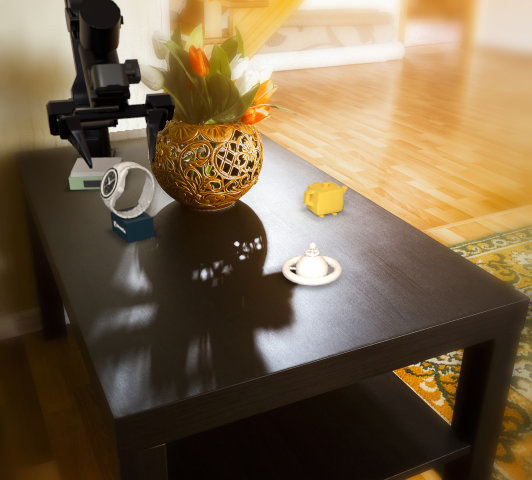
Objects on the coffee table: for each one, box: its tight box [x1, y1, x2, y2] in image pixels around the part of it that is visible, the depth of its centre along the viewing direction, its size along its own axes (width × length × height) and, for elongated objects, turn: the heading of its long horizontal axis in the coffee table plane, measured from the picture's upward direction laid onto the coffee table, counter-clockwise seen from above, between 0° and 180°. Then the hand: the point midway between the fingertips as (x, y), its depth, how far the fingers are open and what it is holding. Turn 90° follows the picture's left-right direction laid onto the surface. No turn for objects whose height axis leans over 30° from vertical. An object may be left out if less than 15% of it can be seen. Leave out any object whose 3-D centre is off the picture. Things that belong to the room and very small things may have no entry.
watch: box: [99, 161, 156, 244], centre depth 94 cm, size 6×8×11 cm
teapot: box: [302, 181, 348, 218], centre depth 104 cm, size 8×6×5 cm
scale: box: [68, 156, 126, 191], centre depth 116 cm, size 9×9×3 cm
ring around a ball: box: [281, 242, 343, 287], centre depth 83 cm, size 8×6×8 cm
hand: (122, 164), depth 94 cm, fingers open, 9 cm apart
